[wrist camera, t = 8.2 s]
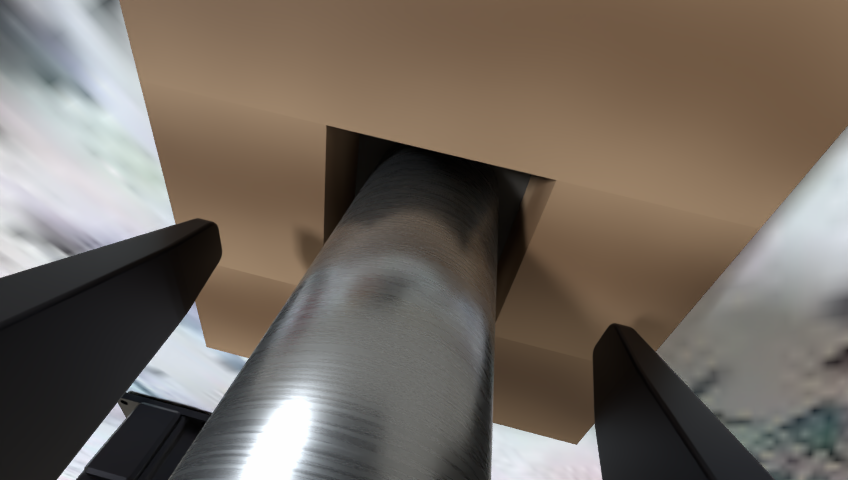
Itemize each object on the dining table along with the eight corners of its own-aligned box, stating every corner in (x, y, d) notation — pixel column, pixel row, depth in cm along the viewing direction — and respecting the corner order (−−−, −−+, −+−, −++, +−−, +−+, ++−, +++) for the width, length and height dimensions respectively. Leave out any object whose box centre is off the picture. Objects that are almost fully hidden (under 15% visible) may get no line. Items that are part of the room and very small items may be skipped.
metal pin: (479, 259, 13) (440, 709, 5) (367, 231, 13) (158, 625, 5) (516, 151, 11) (548, 669, 3) (380, 119, 11) (35, 522, 3)
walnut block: (564, 364, 17) (576, 444, 14) (255, 285, 17) (206, 347, 14) (812, -20, 8) (968, -16, 6) (205, -150, 9) (67, -207, 6)
